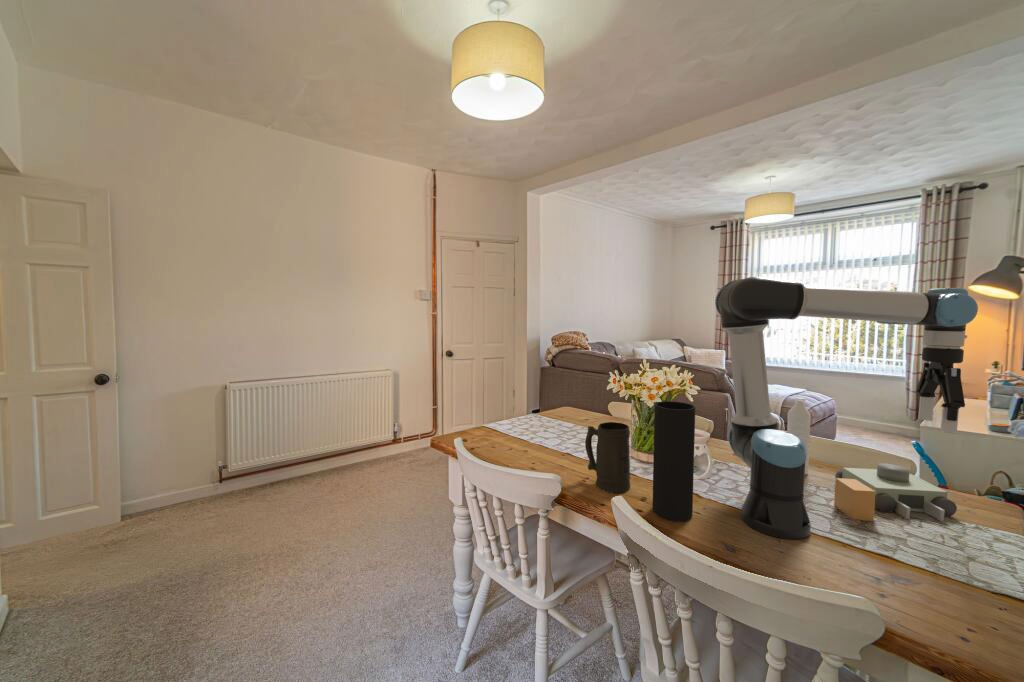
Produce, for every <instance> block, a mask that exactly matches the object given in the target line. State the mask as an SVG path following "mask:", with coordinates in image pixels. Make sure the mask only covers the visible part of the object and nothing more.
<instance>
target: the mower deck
mask: <svg viewBox="0 0 1024 682" xmlns="http://www.w3.org/2000/svg"><path fill="white" fill-rule="evenodd" d="M876 465H877V466H876V468H861V467H860V468H859V467H858V468H857V467H856V468H855V467H842V469H839V470H838V471H837V472H835V476H834V477H835V479H836V478H844V479H856V480H858V481H859V482H861V483H862V484H864V485H866V486H867V487H869V488H871V489H872V490H874V491H875V507H874V510H875V509H876V510H878V509H879V510H880V511H881V512H883V513H888V514H889V513H893V512H895V513H897V514H898V515H900V516H901V517H903V518H905V519H906V520H907V519H908V520H910V519H911V512H922V513H923V512H924V513H926V514H928V516H929V515H930V516H931V517H932V518H934V517H935V518H934V519H936V518H937V519H936V520H938V521H939V520H940V522H944V521H945V516H946V517H947V518H948V517H952V516H954V515H955V514H956V512H957V510H958V507H957V505H956V503H955V502H954V501H952V500H951V499H948V491H946V490H944V489H942V488H940V487H938V486H936V485H934V484H932V483H931V482H928V481H926V480H924V479H922V478H920V477H919V476H916V475H915V474H912V473H910V472H911V471H910V469H908V468H906V467H904V466H900V465H897V464H893V463H892V464H891V463H881V462H880V463H878V464H876Z"/></svg>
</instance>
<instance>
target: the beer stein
mask: <svg viewBox="0 0 1024 682" xmlns="http://www.w3.org/2000/svg"><path fill="white" fill-rule="evenodd" d="M630 435H631V430H630V427H629V425H627V424H626V423H623V422H617V421H615V422H613V421H608V422H603V423H600V424H598V425H597V428H595V426H594V425H588V426H587V434H586V437H585V439H584V440H585V441H584V444H585V450H586V454H587V459H588V461H589V463H588V465H587V469H588V471H592V470H593V471H595V473H596V474H595V476H596V479H595V486H596V487H597V488H598V489H599V490H601V491H603V490H604V491H603V492H606V491H608V492H607V493H611V492H615V493H614V494H623V493H626V492H628V491H629V490H630V489H631V470H630V469H631V459H630V457H631V456H630V454H631V452H630ZM594 436H597V442H596V447H595V449H596V451H595V452H596V454H595V455H596V458H595V456H594V451H593V445H592V442H593V441H592V439H593V437H594ZM622 492H623V493H622Z"/></svg>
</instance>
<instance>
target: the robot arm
mask: <svg viewBox="0 0 1024 682" xmlns="http://www.w3.org/2000/svg"><path fill="white" fill-rule="evenodd" d="M714 304H715V309H716V311H717V312H718V314H719V315H720V321H721V329H723V330H724V331H725V332H727V334H728V340H729V341H728V342H729V352H730V361H731V371H732V372H731V373H732V383H733V392H734V393H733V394H734V403H735V415H733V417H731V422H730V423H731V428H730V429H729V432H728V443H729V445H730V449H731V450H732V451H733V453H734V454H735V456H736V457H738V458H739V459H740V460H741V461H742V462H743V463H745V464H746V466H747V467H749V468H750V479H749V481H750V483H749V491H748V493H747V496H746V497H745V499H744V502H743V504H742V507H741V513H740V514H741V515H740V516H741V519H742V521H743V522H744V523H745V524H746V525H747V526H749V527H750V528H752V529H754V530H755V531H758V532H760V533H763V534H765V535H768V536H772V537H775V538H780V539H788V540H800V539H801V540H802V539H806V538H807V537H809V536H810V534H811V527H812V526H811V525H812V524H811V521H810V517H809V514H808V511H807V508H806V505H805V502H804V492H805V491H804V490H805V477H806V476H805V461H806V453H805V445H804V443H803V441H802V440H801V439H799V438H798V437H796V436H795V435H793V434H790V433H787V431H783V430H779V421H778V419H777V418H776V417H775V416H774V415H772V413H771V404H770V394H769V385H768V373H767V363H766V362H767V361H766V360H767V359H766V353H765V352H766V351H765V350H766V349H765V343H764V342H765V341H764V330H765V329H766V328H767V327H768V326H769V320H796V319H797V318H798V317H811V318H826V319H842V320H853V321H866V322H867V321H869V322H870V321H871V322H876V323H877V324H880V325H909V326H910V325H911V326H912V325H913V326H914V325H915V326H924V328H923V329H924V330H923V337H922V344H923V348H922V351H921V352H922V353H921V360H922V361H924V363H923V369H922V373H921V375H920V379H919V382H918V385H917V388H916V394H918V395H919V405H918V416H917V419H918V420H919V421H927V422H929V421H930V422H933V416H934V405H935V398H937V396H936V394H935V392H936V391H937V389H938V387H939V388H940V393H941V396H942V399H943V403H942V404H941V407H942V411H941V412H942V413H941V420H940V422H941V424H940V432H941V433H947V434H958V423H959V412H960V409H961V408H965V407H966V404H965V397H964V391H963V383H962V370H961V367H960V368H959V367H958V368H957V367H954V364H961V363H963V362H964V352H965V350H964V349H963V348H962V347H965V340H966V339H967V338H968V335H966V328H967V324H970V323H971V322H973V320H974V319H975V318H976V316H977V314H978V311H979V307H978V303H977V301H976V299H974V298H973V297H972V296H970V295H969V292H968V290H967V289H966V288H963V287H945V288H942V287H941V288H930V289H928V290H927V292H919V291H917V292H915V291H899V290H898V291H897V290H886V289H885V290H884V289H883V290H881V289H868V288H867V289H865V288H848V287H831V286H830V287H829V286H813V285H805V284H804V283H803V282H802V281H798V280H786V279H778V278H773V277H766V276H765V277H764V276H763V277H762V276H750V277H745V278H738V279H734V280H732V281H729V282H728V283H726V284H725V285H723V286H722V287H721V288H720V289H719V291H718V292H717V294H716V296H715V300H714Z"/></svg>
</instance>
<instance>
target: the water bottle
mask: <svg viewBox="0 0 1024 682" xmlns="http://www.w3.org/2000/svg"><path fill="white" fill-rule="evenodd" d="M805 402H806V398H805V397H801V396H799V397H796V400H795V402H794V403H795V404H794V405H793V406H792V407H791V408H790V409H789V410H788V412H787V423H786V424H787V426H786V428H787V430H786V433H790V434H793V435H795V436H796V437H798V438H799V439H801V440H802V441H803V443H804V445H805V453H806V461H805V475H808V474H809V464H810V463H809V461H810V460H809V459H810V454H809V453H810V442H811V438H810V434H811V418H812V416H811V413H810V411H809V410H808V408H807V407H806V405H805Z"/></svg>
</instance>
